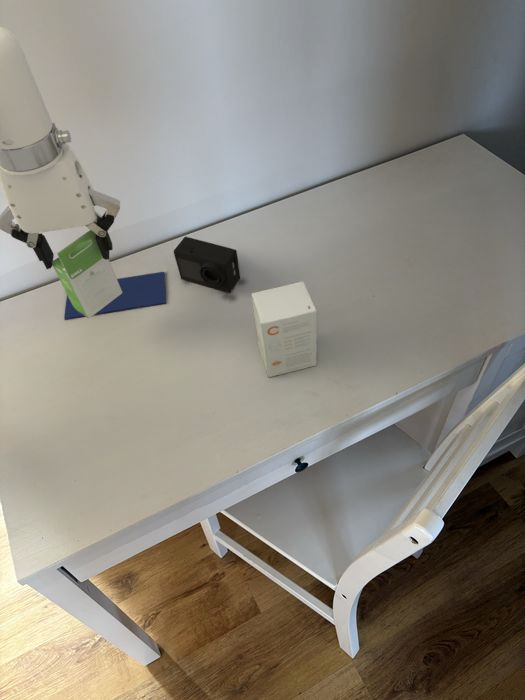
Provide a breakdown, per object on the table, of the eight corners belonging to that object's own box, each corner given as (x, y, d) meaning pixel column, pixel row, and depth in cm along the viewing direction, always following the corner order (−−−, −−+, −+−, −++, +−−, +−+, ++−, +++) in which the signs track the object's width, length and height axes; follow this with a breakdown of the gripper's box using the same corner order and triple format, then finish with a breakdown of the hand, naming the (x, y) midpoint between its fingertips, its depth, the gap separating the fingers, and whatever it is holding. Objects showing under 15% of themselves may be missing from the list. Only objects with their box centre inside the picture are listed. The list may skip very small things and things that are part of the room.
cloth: (64, 320, 94) (64, 318, 94) (68, 288, 99) (67, 286, 99) (166, 303, 95) (165, 302, 95) (164, 272, 100) (164, 271, 100)
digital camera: (176, 283, 98) (168, 255, 92) (191, 264, 101) (184, 235, 95) (227, 298, 95) (221, 269, 89) (240, 278, 97) (236, 249, 92)
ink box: (108, 283, 87) (79, 216, 76) (123, 293, 85) (96, 227, 75) (73, 308, 84) (39, 242, 73) (89, 320, 82) (55, 254, 72)
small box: (305, 336, 88) (304, 279, 78) (317, 366, 84) (317, 310, 74) (257, 348, 87) (250, 292, 77) (267, 378, 83) (261, 324, 73)
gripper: (101, 119, 66) (138, 231, 80) (-40, 140, 65) (22, 250, 79) (99, 152, 61) (138, 265, 75) (-54, 176, 61) (15, 285, 75)
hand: (78, 257), depth 77 cm, fingers closed on ink box, 7 cm apart
